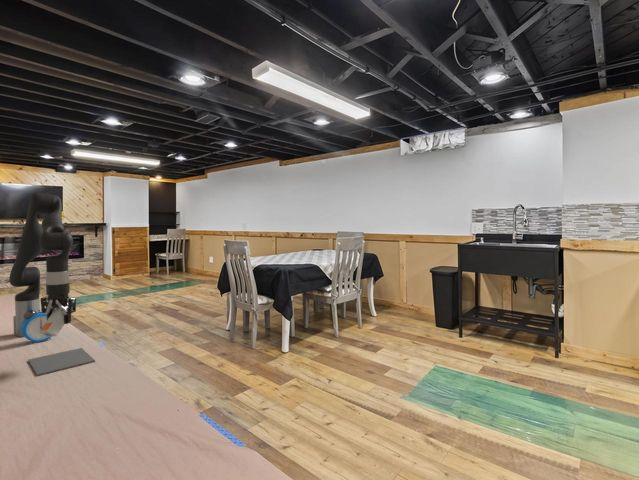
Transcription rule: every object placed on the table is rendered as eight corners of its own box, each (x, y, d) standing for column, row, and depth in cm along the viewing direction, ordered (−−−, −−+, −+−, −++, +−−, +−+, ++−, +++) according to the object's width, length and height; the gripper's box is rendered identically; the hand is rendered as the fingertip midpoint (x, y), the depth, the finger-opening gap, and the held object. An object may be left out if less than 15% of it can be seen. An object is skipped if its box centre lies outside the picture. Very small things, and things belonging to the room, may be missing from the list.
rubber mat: (28, 360, 138) (28, 359, 138) (81, 349, 151) (81, 347, 151) (37, 376, 125) (37, 374, 125) (95, 361, 138) (95, 360, 138)
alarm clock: (23, 346, 155) (22, 312, 154) (20, 343, 158) (19, 310, 158) (59, 338, 165) (58, 307, 165) (54, 335, 169) (53, 305, 168)
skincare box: (37, 332, 134) (56, 305, 142) (48, 337, 137) (65, 311, 145) (47, 330, 132) (65, 303, 140) (57, 336, 135) (75, 309, 143)
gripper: (81, 281, 141) (82, 321, 142) (50, 280, 143) (51, 319, 144) (65, 284, 134) (67, 326, 135) (33, 283, 136) (34, 325, 137)
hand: (59, 323), depth 139 cm, fingers closed on skincare box, 7 cm apart
